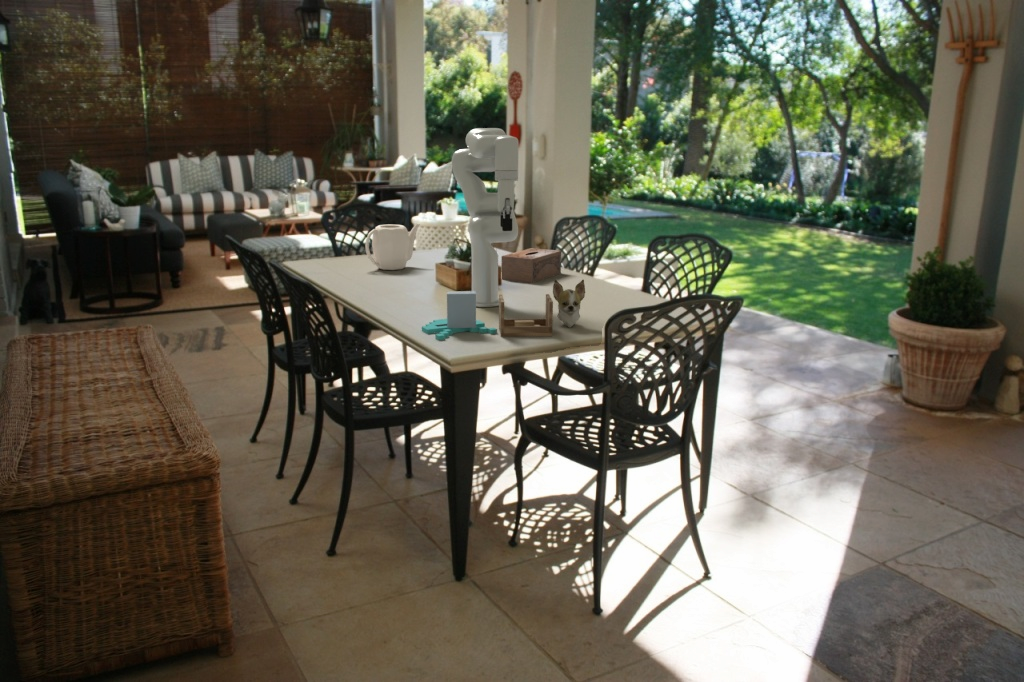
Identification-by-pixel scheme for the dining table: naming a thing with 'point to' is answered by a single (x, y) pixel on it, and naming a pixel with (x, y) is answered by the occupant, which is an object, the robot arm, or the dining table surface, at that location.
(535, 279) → the tissue box cover
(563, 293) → the ceramic sculpture
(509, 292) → the dining table surface
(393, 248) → the white teapot
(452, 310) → the board
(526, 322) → the offcut top
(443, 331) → the alien figure
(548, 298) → the rack
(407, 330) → the dining table surface
